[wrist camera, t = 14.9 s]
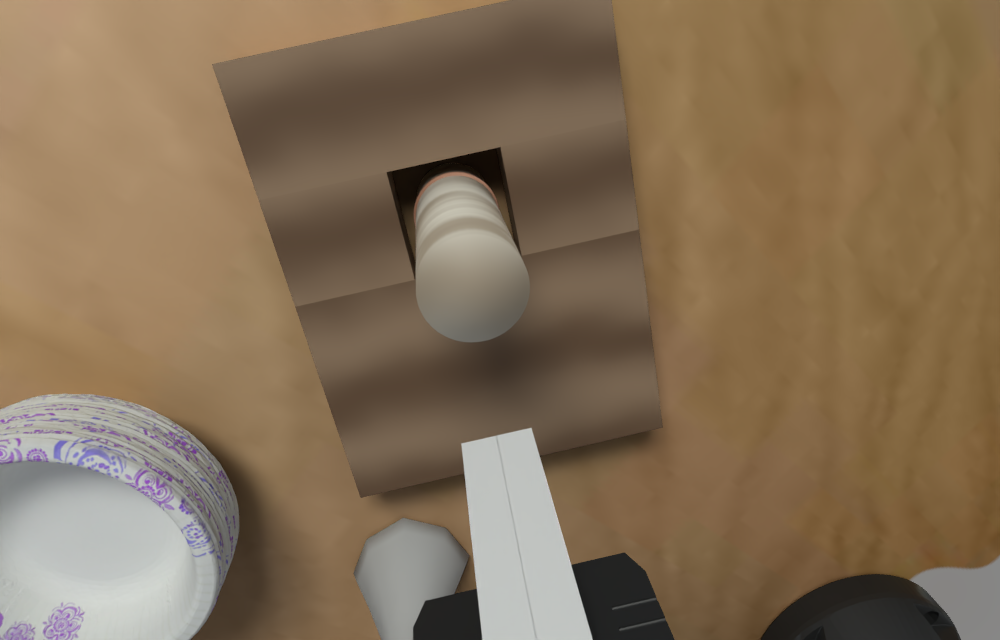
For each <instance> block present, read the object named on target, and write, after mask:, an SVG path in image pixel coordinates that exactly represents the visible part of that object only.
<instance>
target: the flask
mask: <svg viewBox="0 0 1000 640" xmlns="http://www.w3.org/2000/svg"><path fill="white" fill-rule="evenodd" d="M468 558H469V555H468V553H467V552H466V551H465V550H464V549H463V548H462V546H461V545H460V544H459V543H458V542H457V541H456V539H455V538H454V537H453V536H452V535H451V534H450V532H449V531H448V530H447V529H446V528H444V527H440V526H436V525H432V524H427V523H423V522H419V521H415V520H410V519H406V518H402V519H400V520H399V521H397V522H395V523H394V524H392V525H390V526H389V527H387V528H385V529H384V530H382V531H380V532H378V533H377V534H375V535H373V536H372V537H370V538H368V539H367V540H366V542H365V545H364V547H363V550H362V552H361V555H360V558H359V560H358V563H357V565H356V568H355V571H354V576H355V578H356V581H357V583H358V585H359V588H360V590H361V592H362V594H363V596H364V598H365V601H366V603H367V605H368V607H369V609H370V612H371V614H372V617H373V619H374V622H375V624H376V627H377V630H378V632H379V635H380V637H381V640H413V626H414V624H415V622H416V620H417V618H418V615H419V613H420V611H421V609H422V607H423V604H424V602H425V601H426V600H431V599H435V598H439V597H444V596H448V595H452V594H454V593H455V591H456V588H457V586H458V583H459V581H460V578H461V576H462V574H463V571H464V569H465V566H466V563H467V561H468Z"/></svg>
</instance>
